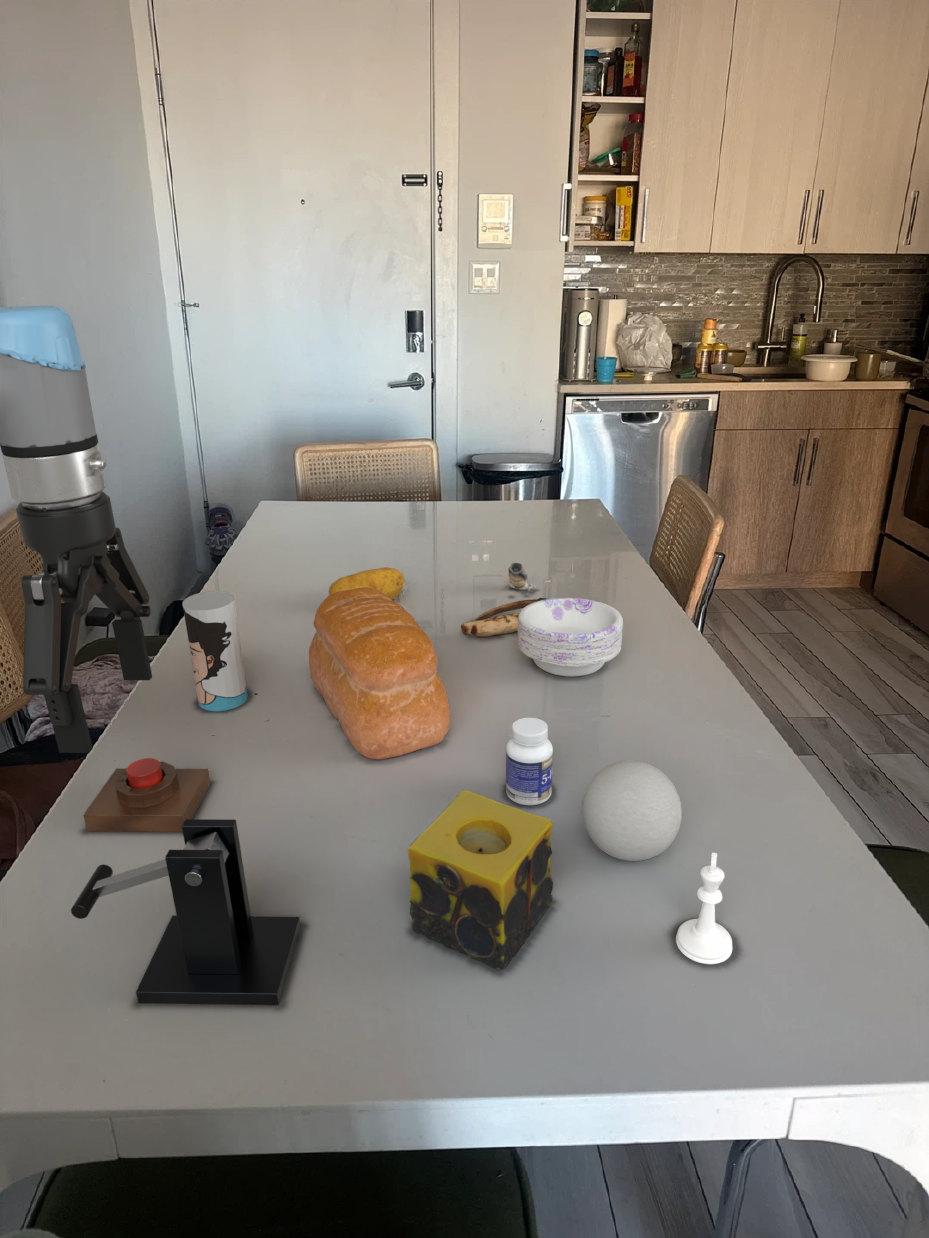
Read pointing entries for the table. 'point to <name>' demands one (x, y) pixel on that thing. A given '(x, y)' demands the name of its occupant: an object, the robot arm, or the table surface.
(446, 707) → the bread
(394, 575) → the potato
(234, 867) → the bracket
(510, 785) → the pill bottle
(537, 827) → the candle
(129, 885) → the lever
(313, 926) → the table surface
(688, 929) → the chess piece
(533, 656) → the paper bowls
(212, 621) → the cup
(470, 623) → the bone fish hook
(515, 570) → the vase
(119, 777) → the button block
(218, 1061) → the table surface
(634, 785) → the ball
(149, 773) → the button
